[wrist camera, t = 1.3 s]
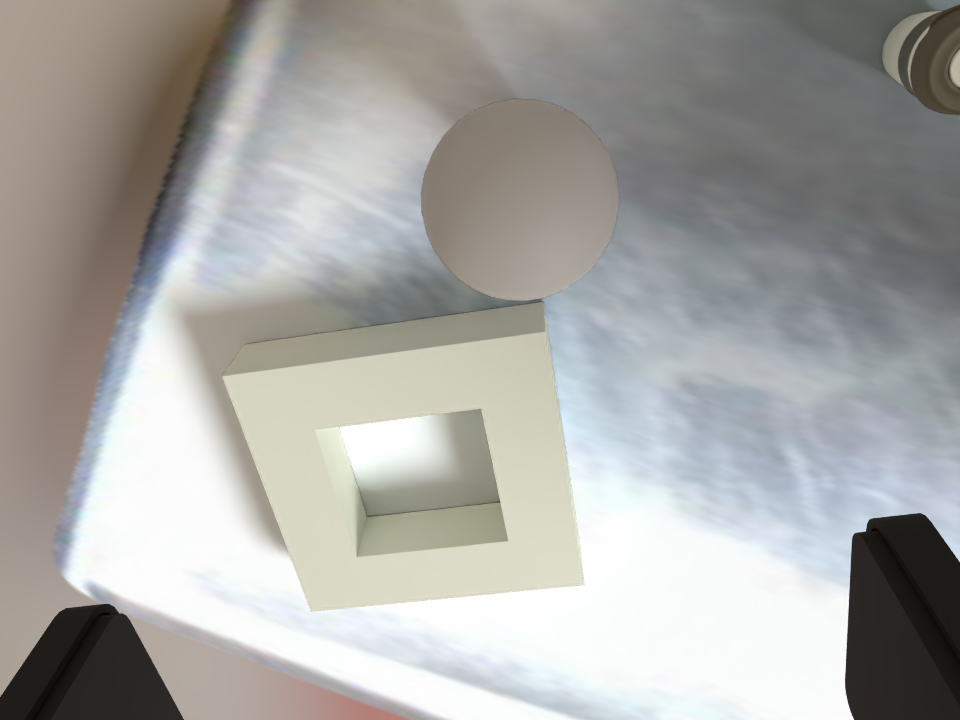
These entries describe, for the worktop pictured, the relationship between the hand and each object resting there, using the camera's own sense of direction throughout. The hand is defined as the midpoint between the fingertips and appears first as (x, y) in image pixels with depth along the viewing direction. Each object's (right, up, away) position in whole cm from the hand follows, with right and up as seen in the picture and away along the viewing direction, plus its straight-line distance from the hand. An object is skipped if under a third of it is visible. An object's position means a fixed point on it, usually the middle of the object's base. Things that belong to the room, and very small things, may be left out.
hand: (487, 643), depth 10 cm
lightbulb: (+2, +12, +21) cm, 25 cm away
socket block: (-3, -1, +29) cm, 29 cm away
